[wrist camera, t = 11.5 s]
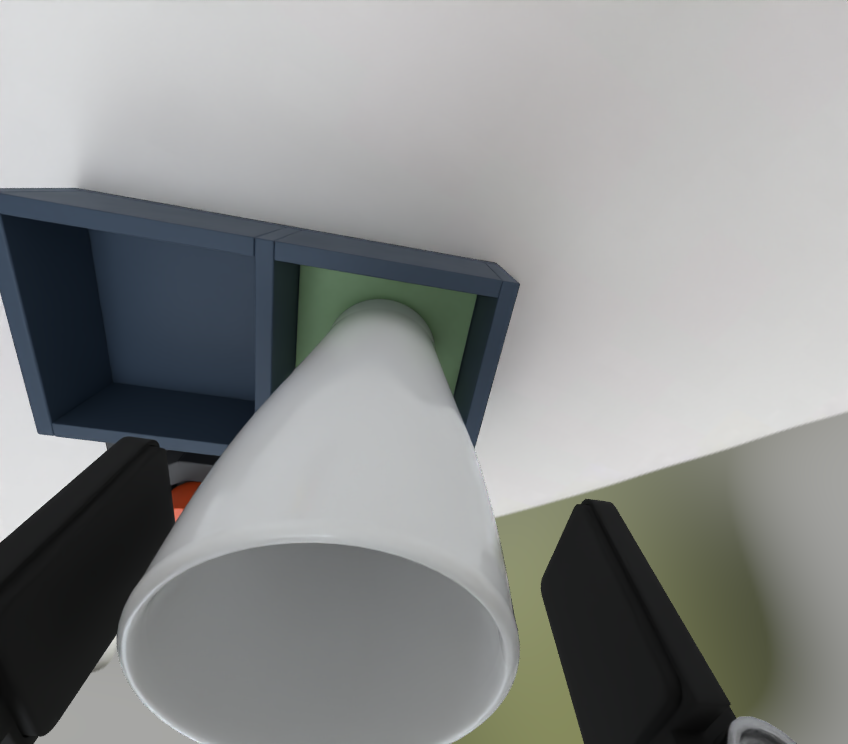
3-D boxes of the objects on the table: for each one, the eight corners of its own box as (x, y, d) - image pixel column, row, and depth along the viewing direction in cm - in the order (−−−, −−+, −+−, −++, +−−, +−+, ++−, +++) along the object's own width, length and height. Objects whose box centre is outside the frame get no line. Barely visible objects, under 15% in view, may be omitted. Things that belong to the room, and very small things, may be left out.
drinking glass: (476, 342, 20) (611, 660, 7) (389, 427, 22) (356, 806, 9) (373, 249, 18) (262, 435, 5) (287, 352, 20) (32, 694, 7)
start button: (237, 485, 21) (221, 512, 19) (238, 535, 22) (223, 565, 20) (165, 476, 20) (141, 504, 19) (171, 528, 22) (149, 558, 20)
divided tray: (496, 262, 19) (520, 283, 15) (454, 432, 23) (464, 485, 19) (75, 187, 18) (-30, 187, 13) (109, 386, 22) (37, 434, 17)
